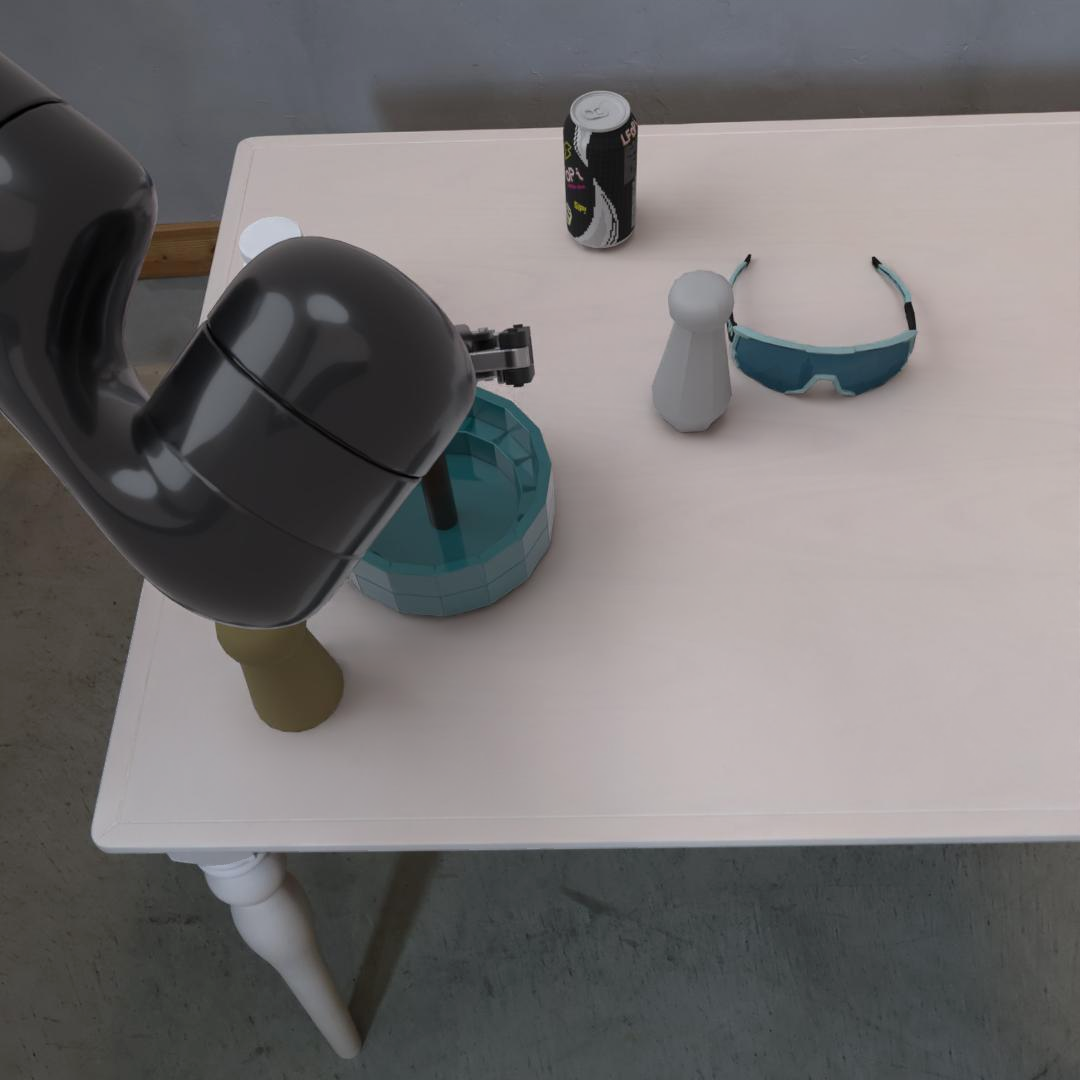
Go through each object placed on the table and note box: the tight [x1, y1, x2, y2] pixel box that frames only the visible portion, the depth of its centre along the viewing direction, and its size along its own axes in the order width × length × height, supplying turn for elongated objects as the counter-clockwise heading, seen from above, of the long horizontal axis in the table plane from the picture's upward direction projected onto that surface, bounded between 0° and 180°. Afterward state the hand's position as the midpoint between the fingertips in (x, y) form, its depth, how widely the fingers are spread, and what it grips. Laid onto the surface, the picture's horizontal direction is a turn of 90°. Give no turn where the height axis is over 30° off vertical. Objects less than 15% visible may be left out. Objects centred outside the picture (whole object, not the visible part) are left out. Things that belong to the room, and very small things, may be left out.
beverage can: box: [562, 90, 639, 249], centre depth 90 cm, size 6×6×12 cm
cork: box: [214, 619, 345, 733], centre depth 69 cm, size 6×6×11 cm
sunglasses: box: [726, 253, 920, 397], centre depth 87 cm, size 14×15×5 cm
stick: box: [420, 451, 458, 530], centre depth 71 cm, size 2×2×20 cm
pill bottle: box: [238, 215, 304, 269], centre depth 86 cm, size 6×6×10 cm
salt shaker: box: [651, 269, 735, 434], centre depth 79 cm, size 6×6×13 cm
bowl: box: [348, 385, 556, 617], centre depth 77 cm, size 16×16×6 cm
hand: (402, 359), depth 62 cm, fingers open, 8 cm apart
